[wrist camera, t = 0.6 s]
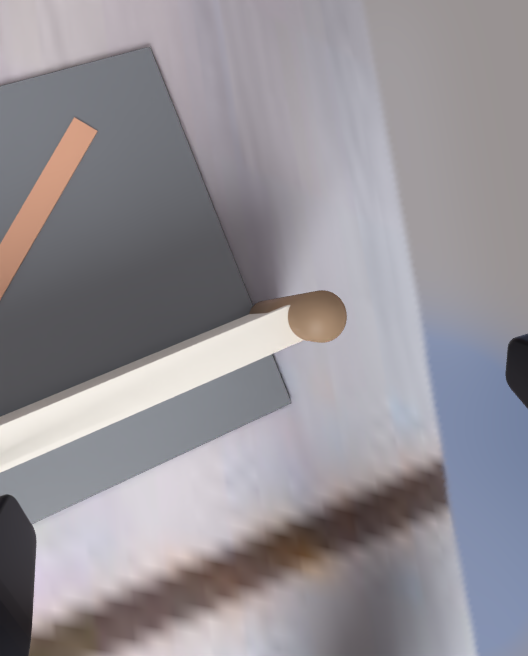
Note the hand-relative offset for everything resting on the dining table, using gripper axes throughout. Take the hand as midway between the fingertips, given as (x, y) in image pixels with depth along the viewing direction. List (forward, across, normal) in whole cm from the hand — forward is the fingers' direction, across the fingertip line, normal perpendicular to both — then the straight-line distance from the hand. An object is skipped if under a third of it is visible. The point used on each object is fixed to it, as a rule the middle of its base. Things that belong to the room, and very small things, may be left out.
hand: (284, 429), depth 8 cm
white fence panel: (+14, +6, +6) cm, 16 cm away
